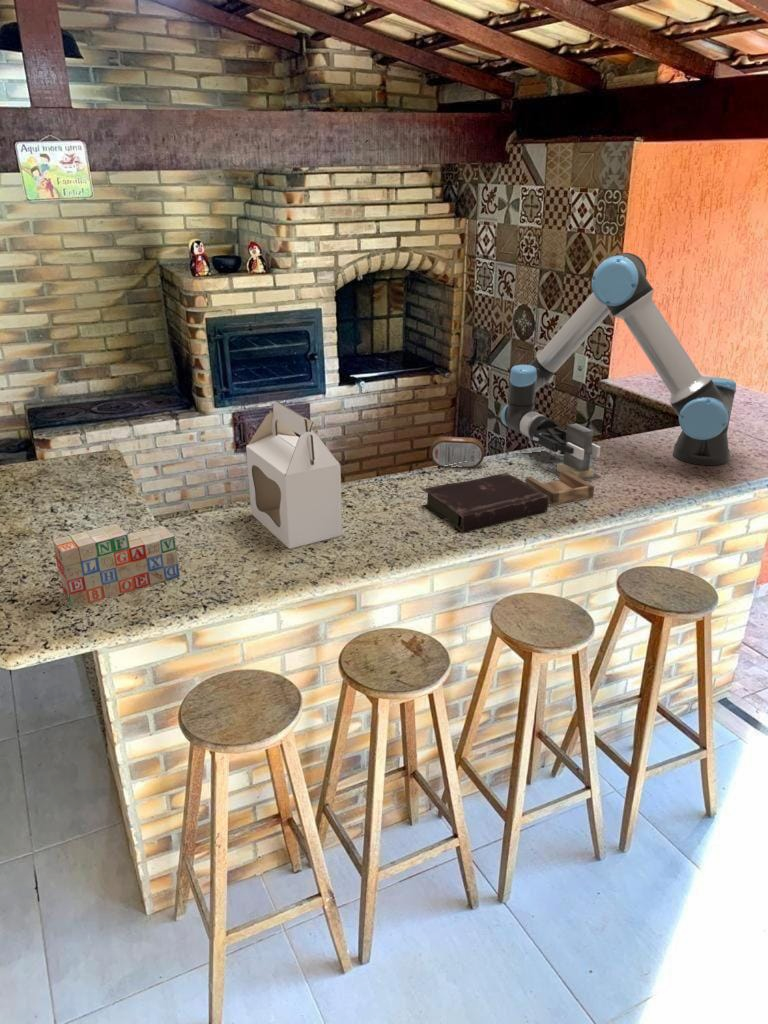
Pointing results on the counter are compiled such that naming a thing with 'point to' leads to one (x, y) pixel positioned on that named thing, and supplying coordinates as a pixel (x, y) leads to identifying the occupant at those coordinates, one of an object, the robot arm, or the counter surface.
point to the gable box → (293, 480)
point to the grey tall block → (583, 440)
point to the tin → (457, 451)
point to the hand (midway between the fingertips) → (590, 453)
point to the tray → (563, 488)
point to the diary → (485, 501)
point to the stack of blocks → (113, 562)
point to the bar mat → (582, 479)
